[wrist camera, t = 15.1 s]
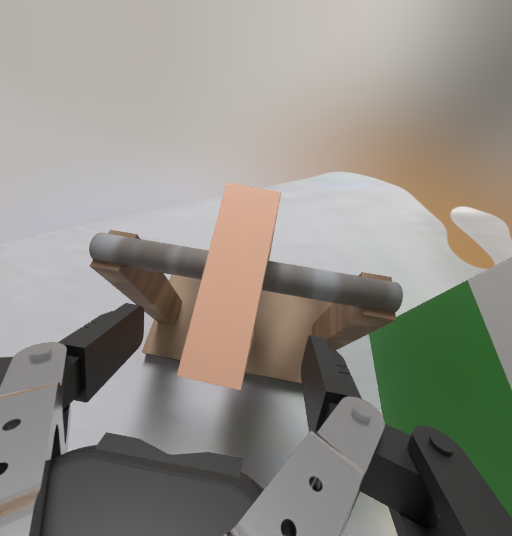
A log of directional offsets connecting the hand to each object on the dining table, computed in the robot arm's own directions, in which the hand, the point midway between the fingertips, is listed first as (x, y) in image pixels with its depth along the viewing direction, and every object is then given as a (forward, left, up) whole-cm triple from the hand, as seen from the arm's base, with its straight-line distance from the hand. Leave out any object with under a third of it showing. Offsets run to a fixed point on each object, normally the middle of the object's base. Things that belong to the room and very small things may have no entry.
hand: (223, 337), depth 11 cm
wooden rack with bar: (0, +5, -18) cm, 18 cm away
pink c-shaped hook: (0, +6, -11) cm, 12 cm away
